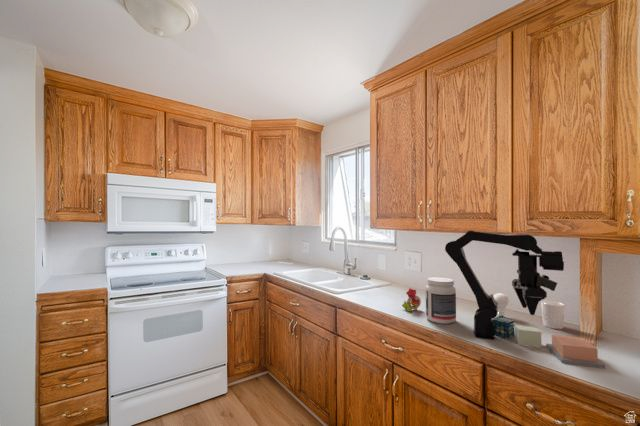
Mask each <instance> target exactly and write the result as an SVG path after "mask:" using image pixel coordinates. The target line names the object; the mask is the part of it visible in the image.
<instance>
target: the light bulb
mask: <svg viewBox="0 0 640 426" xmlns="http://www.w3.org/2000/svg"><path fill="white" fill-rule="evenodd" d="M493 297H494V299H495V301H496V302H497V303H498V312H497V317H505V312H506V309H507V307H508V306H509V303H510V299H509V297H508V296H507V295H506V294H505V293H503V292H497V293H495V294H494V295H493Z"/></svg>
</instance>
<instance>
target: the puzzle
mask: <svg viewBox="0 0 640 426" xmlns="http://www.w3.org/2000/svg"><path fill="white" fill-rule="evenodd" d="M492 321H493V324H494V325H495V336H497V337H500V338H503V339H506V340H507V339H508V340H509V339H511V338H512V337H515V320H514V319H510V318H505V317H504V316H502V317H500V316H496V317H495V318H493V319H492Z"/></svg>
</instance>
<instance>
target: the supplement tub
mask: <svg viewBox="0 0 640 426" xmlns="http://www.w3.org/2000/svg"><path fill="white" fill-rule="evenodd" d="M426 283H427V285H426V286H425V317H426V318H427V320H428V321H430V322H433V323H436V324H443V325H446V324H448V325H449V324H452V323H455V322H456V321H457V296H456V295H457V290H456V287H454V285H455V280H454V279H452V278H447V277H442V276H441V277H440V276H439V277H438V276H437V277H436V276H435V277H433V276H432V277H427V279H426Z"/></svg>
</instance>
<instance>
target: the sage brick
mask: <svg viewBox="0 0 640 426" xmlns="http://www.w3.org/2000/svg"><path fill="white" fill-rule="evenodd" d="M514 332H515V335H514V340H515V343H517V345H518V346H524V347H532V348H542V331H541V330H540V329H539V328H538V327H533V326H532V327H531V326H524V325H523V326H522V325H514Z"/></svg>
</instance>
